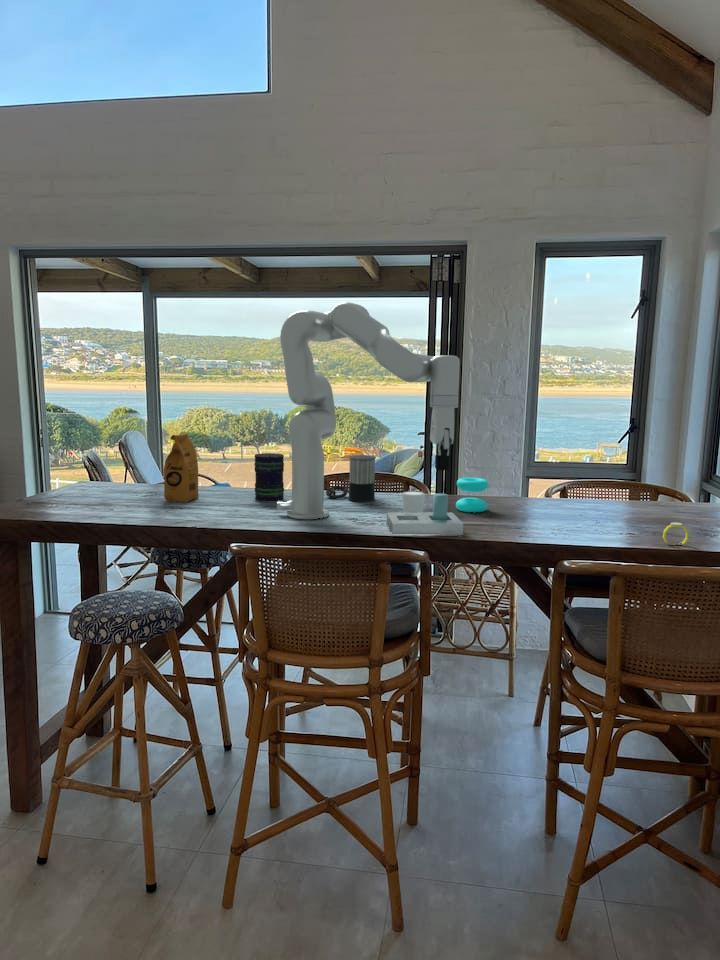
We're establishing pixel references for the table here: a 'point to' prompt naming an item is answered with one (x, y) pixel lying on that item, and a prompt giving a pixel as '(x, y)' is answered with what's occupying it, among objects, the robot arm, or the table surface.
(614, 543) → the table surface
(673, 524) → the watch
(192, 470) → the coffee package
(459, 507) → the donuts
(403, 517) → the block
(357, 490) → the milk frother
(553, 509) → the table surface
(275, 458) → the storage jar
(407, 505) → the grey cup
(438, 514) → the peg
